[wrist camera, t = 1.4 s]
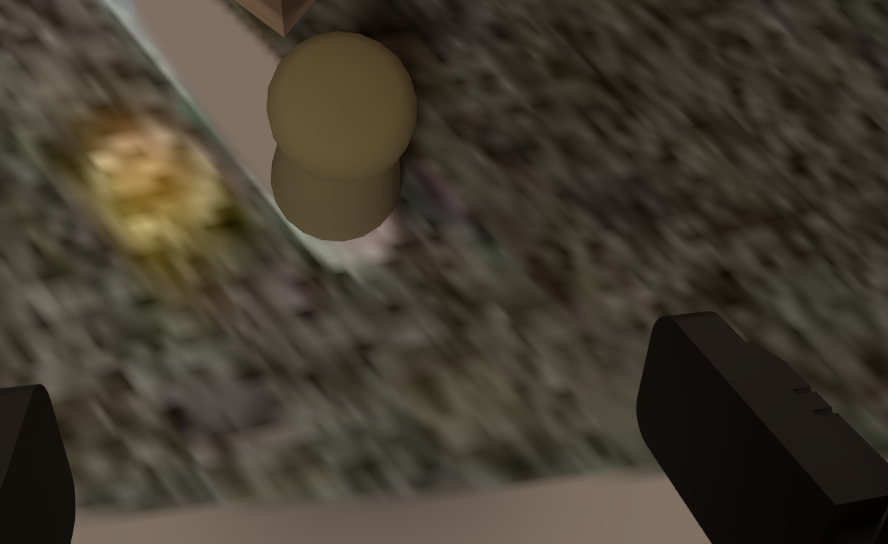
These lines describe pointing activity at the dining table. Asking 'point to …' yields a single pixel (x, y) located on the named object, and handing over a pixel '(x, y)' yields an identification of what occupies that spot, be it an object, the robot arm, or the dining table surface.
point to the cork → (339, 134)
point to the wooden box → (278, 12)
